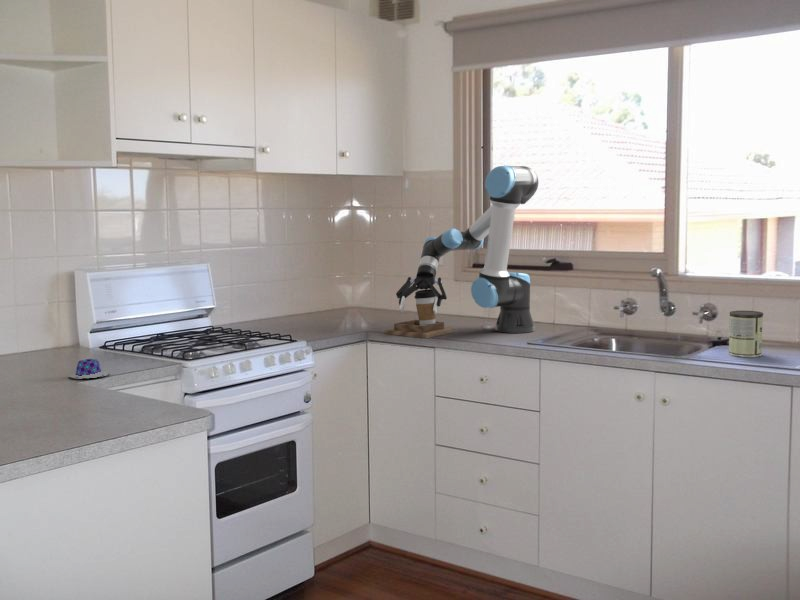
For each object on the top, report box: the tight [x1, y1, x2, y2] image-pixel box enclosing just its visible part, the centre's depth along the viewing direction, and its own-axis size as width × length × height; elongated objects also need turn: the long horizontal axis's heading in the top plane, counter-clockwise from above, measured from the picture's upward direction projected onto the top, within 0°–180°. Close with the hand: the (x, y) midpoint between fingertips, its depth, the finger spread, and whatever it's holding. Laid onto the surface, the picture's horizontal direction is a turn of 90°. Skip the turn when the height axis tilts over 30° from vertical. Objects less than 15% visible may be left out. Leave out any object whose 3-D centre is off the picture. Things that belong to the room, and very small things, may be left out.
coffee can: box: [728, 310, 764, 358], centre depth 290 cm, size 10×10×14 cm
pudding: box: [75, 358, 102, 376], centre depth 266 cm, size 12×12×5 cm
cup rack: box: [384, 319, 454, 339], centre depth 346 cm, size 20×18×4 cm
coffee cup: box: [414, 289, 436, 326], centre depth 345 cm, size 8×8×15 cm
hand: (417, 311), depth 343 cm, fingers open, 13 cm apart
